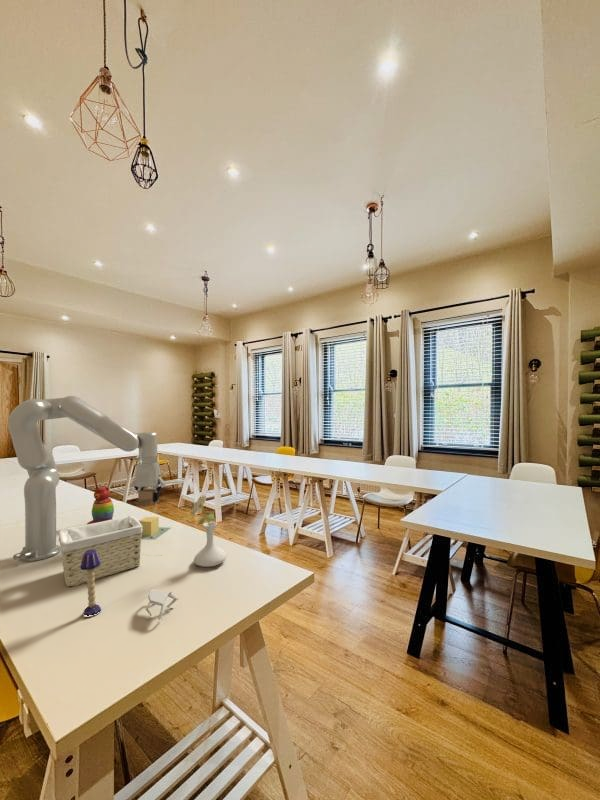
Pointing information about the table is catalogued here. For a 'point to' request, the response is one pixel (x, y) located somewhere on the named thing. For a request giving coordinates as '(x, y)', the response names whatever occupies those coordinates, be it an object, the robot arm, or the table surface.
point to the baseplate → (156, 534)
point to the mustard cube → (149, 525)
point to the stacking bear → (102, 506)
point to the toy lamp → (91, 580)
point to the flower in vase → (208, 540)
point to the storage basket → (101, 548)
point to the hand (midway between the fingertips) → (148, 500)
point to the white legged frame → (159, 599)
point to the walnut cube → (146, 496)
